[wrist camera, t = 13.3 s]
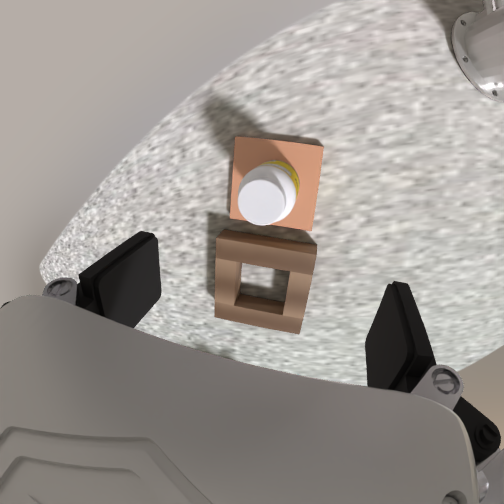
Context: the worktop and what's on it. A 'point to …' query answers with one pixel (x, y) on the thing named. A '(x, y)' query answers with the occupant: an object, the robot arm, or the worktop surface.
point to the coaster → (295, 154)
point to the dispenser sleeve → (266, 255)
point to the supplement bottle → (268, 192)
